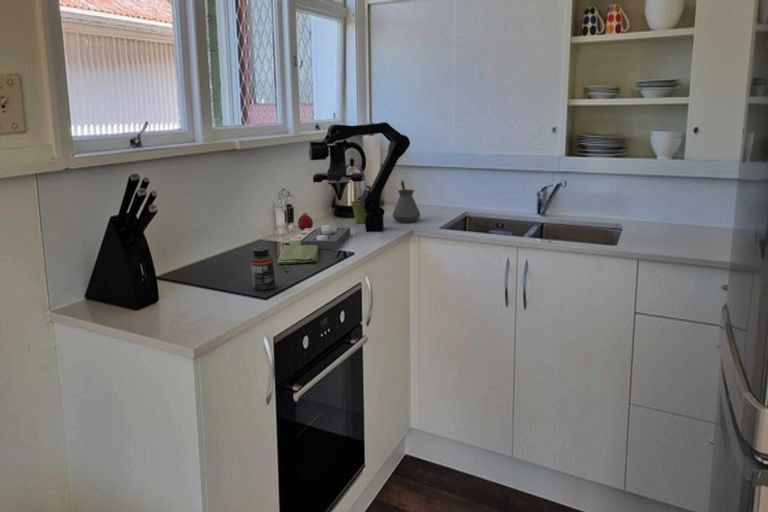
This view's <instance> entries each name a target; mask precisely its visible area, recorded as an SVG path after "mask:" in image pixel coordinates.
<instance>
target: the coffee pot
mask: <svg viewBox="0 0 768 512" xmlns="http://www.w3.org/2000/svg"><path fill="white" fill-rule="evenodd" d="M400 185H401V189H399V190H398V191H397V192H398V195H399V197H398V200H397V201H396V205H395V208H394V209H393V212H392V217H393V219H394V220H395V221H396V222H397V221H398V223H399V222H400V223H401V224H410V222H412V223H415V222H417V220H419V218H420V217H421V213H420V211H419V208H418V206H417V203H416V201H415V199H414V196H413V194H414V192H415V190H414V189H406V187H405V181H404V180H401V181H400Z"/></svg>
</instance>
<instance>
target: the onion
mask: <svg viewBox="0 0 768 512" xmlns="http://www.w3.org/2000/svg"><path fill="white" fill-rule="evenodd" d="M297 226H298V228H299V230H300V231H301V232H302V231H303V230H304V229H306V228H313V226H314V222H313V219H312V217H311V216H310V215H308V213H307V212H303V214H302V215H301V216H300V217H299V218H298V220H297Z"/></svg>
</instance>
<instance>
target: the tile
mask: <svg viewBox="0 0 768 512" xmlns="http://www.w3.org/2000/svg"><path fill="white" fill-rule="evenodd" d="M316 230H317V227H312V228H306V229H304V230H303V231H302V230H301V231H300V232H299V233H297V234H296V235H295V236H293V237H292V238H291V239H289V240H288V241H289V245H296V246H298V245H299V246H303V243H302V241H303V240H304V239H306V238H307V237H308V236H309V235H311V234H312V233H313V232H314V231H316Z"/></svg>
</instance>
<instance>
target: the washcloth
mask: <svg viewBox="0 0 768 512" xmlns="http://www.w3.org/2000/svg"><path fill="white" fill-rule="evenodd" d="M319 251H320V250H318V246H317V245H303V246H299V245H298V246H296V245H290V244H289V245H288V244H286V245H284V246H283V248H282V250H281V252H280V255H279V256H278V257H277V265H281V264H284V265H295V264H297V263H299V264H309V263H310V264H312V263H316V262H317V263H318V262H319V254H320V253H319Z"/></svg>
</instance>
